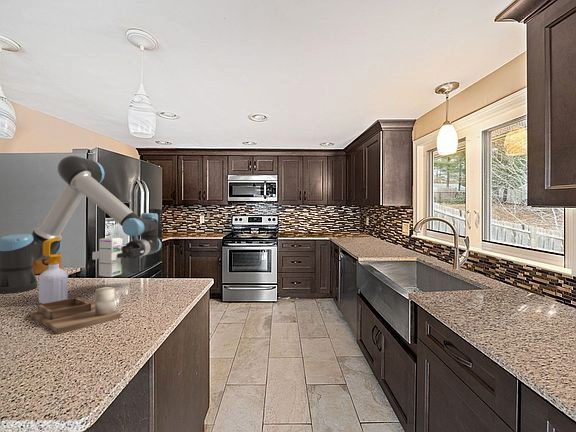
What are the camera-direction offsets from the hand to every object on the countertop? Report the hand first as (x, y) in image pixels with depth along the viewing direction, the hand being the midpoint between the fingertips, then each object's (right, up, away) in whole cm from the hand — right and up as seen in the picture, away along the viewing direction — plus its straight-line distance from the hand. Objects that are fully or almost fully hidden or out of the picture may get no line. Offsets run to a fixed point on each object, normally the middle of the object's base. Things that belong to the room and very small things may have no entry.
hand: (102, 256), depth 119 cm
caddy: (-3, -19, -11) cm, 22 cm away
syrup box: (0, -8, +5) cm, 10 cm away
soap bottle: (-22, -18, +5) cm, 29 cm away
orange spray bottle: (-60, -16, +52) cm, 81 cm away
